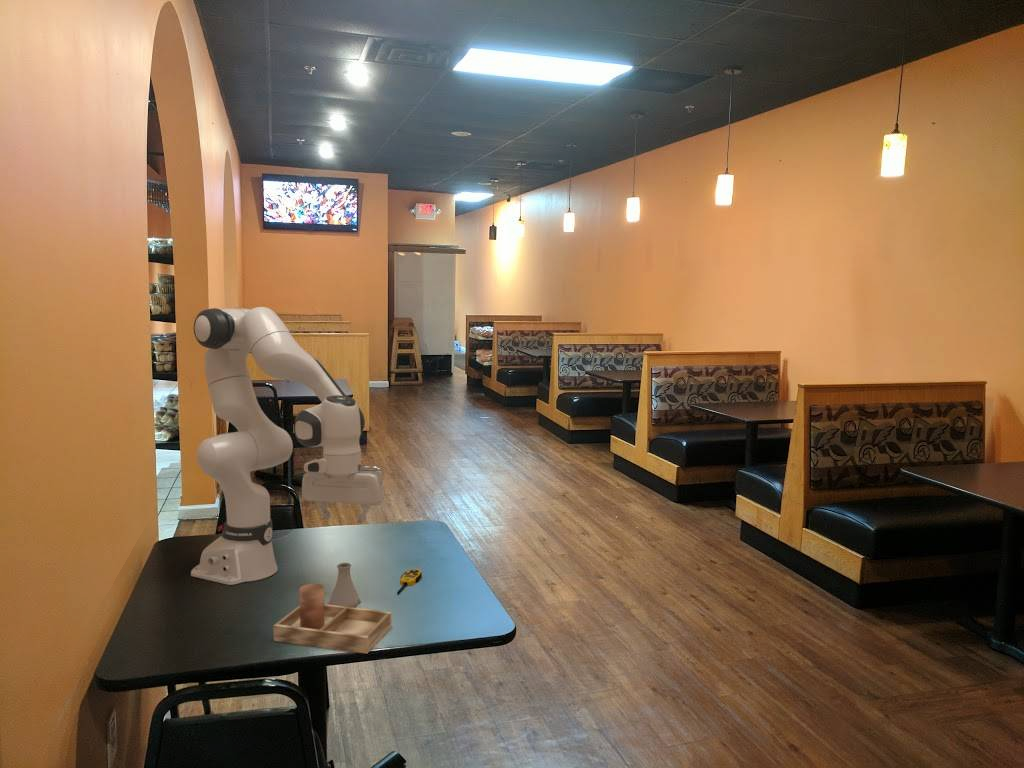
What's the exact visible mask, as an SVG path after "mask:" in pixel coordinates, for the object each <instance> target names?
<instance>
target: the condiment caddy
mask: <svg viewBox="0 0 1024 768" xmlns="http://www.w3.org/2000/svg"><path fill="white" fill-rule="evenodd" d="M324 593H325V587H324V585H323V584H321V583H309V584H304V585H302V586H301V587H299V605H298V606H297V607H296V608H294V609H293V610H292V611H290V612H289V613H288V614H286V615H285V616H284V617H282V618H281V619H280V620H278V621H277V622H276V623H275V624H273V625H272V627H273V641H274V642H279V643H287V644H294V645H301V646H302V645H303V646H307V647H308V646H309V647H317V648H323V649H330V650H337V651H338V650H339V651H343V652H345V651H346V652H351V653H352V652H353V653H359V654H366V655H367V654H368V653H369V652H370V651H371V650H372V649H373V648H374V647H375V646H376V645H377V644H378V642H379V641H380V640H382V638H383V637H384V636H385V635H386V634H387V633H388V631H390V630H391V628H392V627H393V625H392V624H393V620H392V618H393V617H392V614H393V612H392V611H387V610H386V611H384V610H376V609H368V608H360V607H345V606H337V605H329V603H327V604H326V603H325V594H324Z"/></svg>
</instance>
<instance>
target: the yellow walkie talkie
mask: <svg viewBox="0 0 1024 768" xmlns="http://www.w3.org/2000/svg"><path fill="white" fill-rule="evenodd" d="M422 573H423V572H422V569H419V568H411V569H409V570H407V571H405V572H404V573H403V574H401V577H400V581H399V583H400V586H401V587H400V588H399V590H397V592H396V594H398V595H399V594H400V593H401V591H403V589H404V588H405V587H412V586H414V585H416V584H417V583H419V582H420V581H421V579H422V575H423V574H422Z"/></svg>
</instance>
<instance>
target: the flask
mask: <svg viewBox="0 0 1024 768" xmlns="http://www.w3.org/2000/svg"><path fill="white" fill-rule="evenodd" d="M336 567H337V571H338V572H337V573H338V574H337V578H336V579H337V580H336V583H335V585H334V588H333V592H332V594H331V596H330V599H329V602H328V604H329V605H337V606H345V607H353V608H357V606H358V605H359V604H361V603H362V601H361V599H360V597H359V595H358V593H357V590H356V588H355V585H354V582H353V580H352V575H351V567H352V564H351V563H350V562H342V563H341V562H340V563H338V564H337V565H336Z"/></svg>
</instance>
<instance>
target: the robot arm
mask: <svg viewBox="0 0 1024 768" xmlns="http://www.w3.org/2000/svg"><path fill="white" fill-rule="evenodd" d="M193 334H194V337H195V340H196V341H197V343H198V344H199V345H200V346H201V347H204V348H207V349H206V351H205V353H204V371H205V372H204V373H205V379H206V385H207V389H208V393H209V398H210V401H211V405H212V409H213V412H214V414H215V415H216V417H218V418H219V419H221V420H223V421H225V422H226V421H227V422H228V423H230V424H231V425H232V426H234V427H235V429H236V431H234V432H226V433H221V434H217V435H214V436H212V437H209V438H206V439H204V440H202V442H201V443H200V444H199V446H198V448H197V452H196V462H197V464H198V467H199V469H200V470H201V471H202V472H203V473H204V474H205V475H207V476H209V477H210V478H212V479H213V480H214V481H215V482H216V483H217V484H218V485H219V487H220V488H221V491H222V493H223V496H224V501H225V502H224V503H225V511H226V522H223V524H221V525H219V526H217V528H218V529H217V531H218V532H219V531H222V532H221V534H220V536H219V537H217V539H214V540H213V542H211V543H209V544H208V545H207V546H206V547H205V548H204V549H203V550H202V553H200V554H201V555H200V559H199V560H200V561H199V564H197V565H196V566H194V567H193V568H192V569H191V571H190V576H191V577H194V578H199V579H201V580H202V579H203V580H206V581H211V582H215V583H219V584H224V585H228V586H231V585H237V584H241V583H245V582H253V581H259V580H263V579H266V578H269V577H271V576H272V575H274V574H276V573H277V572H278V570H279V567H278V564H277V561H276V558H275V557H276V556H275V554H274V553H275V552H274V547H273V519H272V518H271V499H270V497H271V496H270V493H269V491H268V489H267V488H266V487H264V486H263V485H261V484H258V483H255V482H253V481H252V477H251V472H253V471H258V470H263V469H270V468H274V467H276V466H278V465H282V464H284V463H285V462H287V461H289V459H291V458H290V457H291V456H292V454H293V449H294V448H293V447H294V445H293V444H294V443H293V440H292V437H291V435H290V434H289V432H288V431H286V430H285V429H284V428H282V427H280V426H278V425H277V424H275V423H274V422H273V421H272V420H271V419H269V417H268V416H267V415H266V414H265V413H264V411H263V410H262V407H261V406H260V404H259V402H258V399H257V396H256V392H255V390H254V387H253V386H254V385H253V383H252V377H251V375H250V370H249V369H248V367H249V366H248V363H247V358H248V356H249V354H251V356H252V358H253V360H254V361H255V363H256V365H257V366H258V368H259V370H261V371H262V372H263V373H264V374H265V375H267V376H269V377H271V378H275V379H278V380H279V379H280V380H285V381H289V382H294V383H298V384H301V385H303V386H306V387H307V388H309V389H310V390H312V391H313V393H314V394H315V395H316V397H317V398H318V399H319V401H321V402H320V404H317V405H315V406H313V407H309V408H306V409H302V410H300V411H299V412H298V413H297V414H296V416H295V418H294V422H293V432H294V436H295V438H296V440H297V442H298V443H299V444H301V445H302V446H303V447H306V448H318V447H322V448H323V453H322V455H323V456H320V457H317V458H315V459H312V460H310V461H308V462H306V463H304V465H303V470H304V472H305V473H304V474H303V477H302V481H301V495H302V496H301V497H302V498H303V499H304V501H306V502H307V501H309V502H316V507H317V509H318V511H319V512H320V517H321V518H320V519H321V520H329V519H330V518H331V510H328V509H327V507H326V506H325V505H326V504H327V503H333V504H334V503H335V504H347V505H348V504H350V505H361V506H360V508H361V510H362V512H361V513H359V514H357V517H356V519H357V520H356V521H357V523H363V524H364V523H365V522H367V514H368V512H369V510H370V509H371V506H379V505H380V504H383V501H385V490H384V482H383V481H384V472H383V470H382V469H380V468H379V467H378V466H377V465H366V464H365V465H364V464H362V448H361V446H360V438H361V436H362V435H363V432H364V429H365V427H366V420H365V419H366V418H365V415H364V413H363V412H362V409H361V408H360V407H359V406H358V403H357V401H356V400H355V399H354V398H353V397H350V396H347V395H346V394H345V392H344V391H343V390H342V389H341V388H340V386H339V385H338V383H337V382H336V381H335V379H334V378H333V377H332V376H331V374H330V373H329V371H327V369H326V368H325V366H324V365H322V364H321V362H320V361H319V360H317V358H315V357H313V356H312V355H310V354H309V353H308V352H306V350H305V349H303V348H302V347H301V345H300V344H298V342H297V341H296V339H295V337H293V335H292V333H291V332H290V330H289V328H288V327H287V325H286V324H285V323H284V322H283V320H282V319H281V318H280V317H279V315H278V314H277V313H276V312H275V311H274V310H272V309H271V308H269V307H266V306H258V307H254V308H251V309H250V308H241V307H234V308H232V307H231V308H229V307H228V308H216V307H214V308H213V307H211V308H207V309H204V310H201V311H200V312H199V313H198V314H197V315H196V318H195V319H194V321H193Z"/></svg>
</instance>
